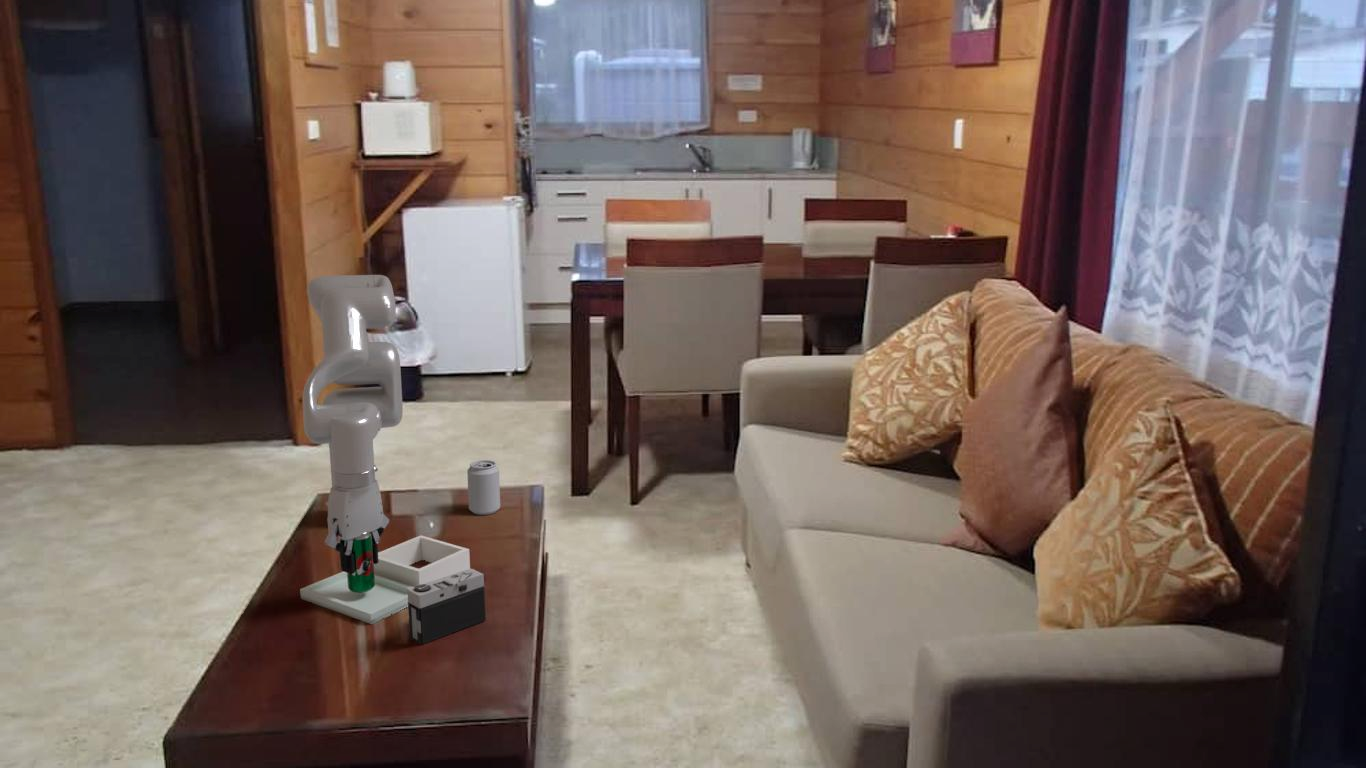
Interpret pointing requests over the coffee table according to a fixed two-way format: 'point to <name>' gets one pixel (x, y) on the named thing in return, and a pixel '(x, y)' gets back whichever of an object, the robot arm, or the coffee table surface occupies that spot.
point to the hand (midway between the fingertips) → (360, 566)
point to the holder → (437, 552)
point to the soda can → (362, 564)
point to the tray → (358, 597)
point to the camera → (446, 605)
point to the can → (483, 487)
